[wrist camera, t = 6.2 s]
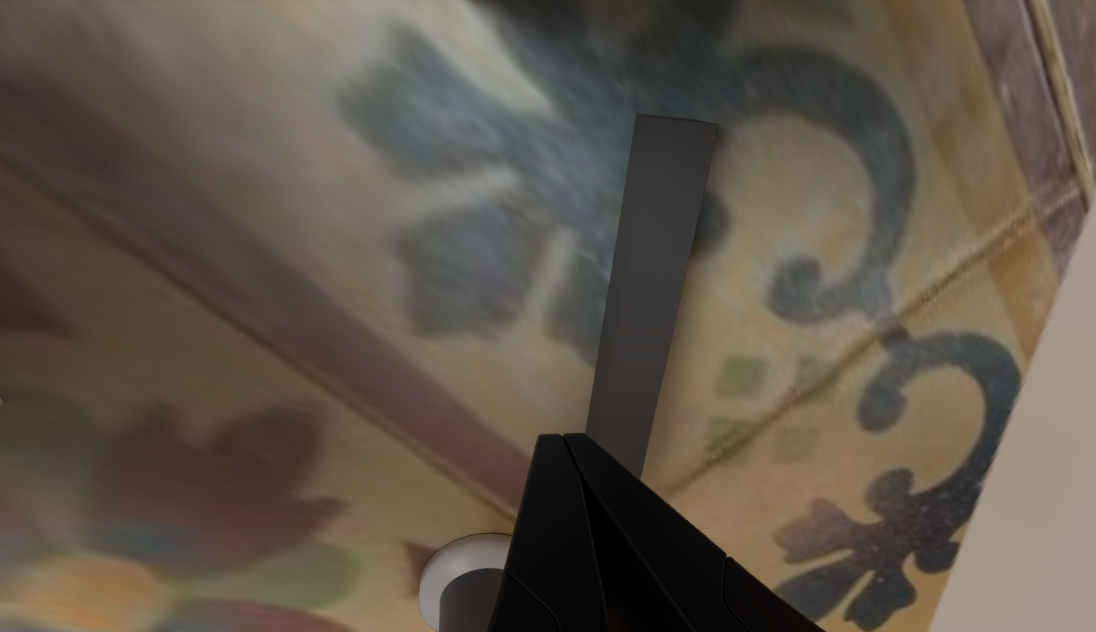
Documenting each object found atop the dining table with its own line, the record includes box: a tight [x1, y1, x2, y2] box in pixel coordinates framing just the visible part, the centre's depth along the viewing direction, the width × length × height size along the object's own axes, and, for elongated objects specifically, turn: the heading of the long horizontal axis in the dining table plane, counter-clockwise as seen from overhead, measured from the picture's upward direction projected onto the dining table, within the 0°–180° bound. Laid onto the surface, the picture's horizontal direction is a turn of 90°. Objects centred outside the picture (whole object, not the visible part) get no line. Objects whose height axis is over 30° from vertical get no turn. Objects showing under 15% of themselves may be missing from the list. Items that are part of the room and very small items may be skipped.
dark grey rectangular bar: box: [585, 114, 719, 479], centre depth 15 cm, size 12×2×2 cm, turn 174°
